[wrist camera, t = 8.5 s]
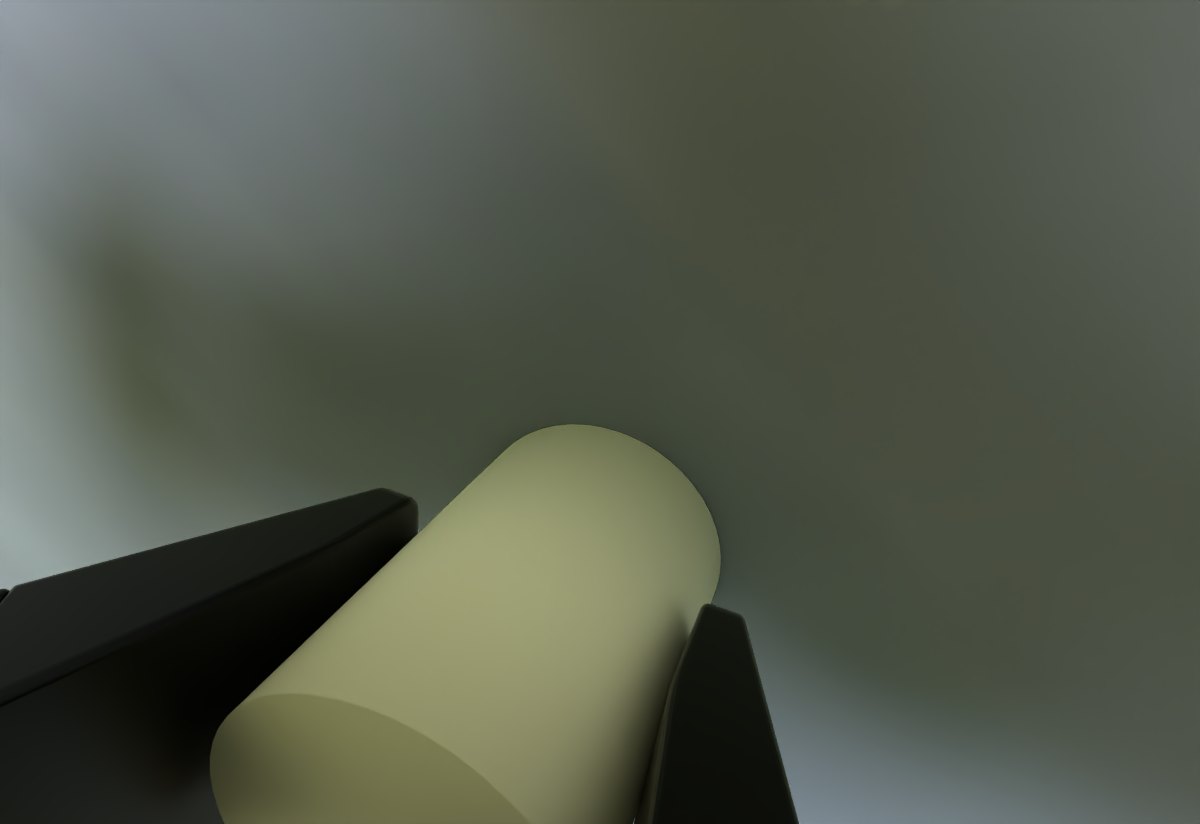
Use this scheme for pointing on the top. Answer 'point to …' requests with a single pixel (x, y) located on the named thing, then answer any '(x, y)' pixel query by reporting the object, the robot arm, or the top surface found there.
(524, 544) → the block
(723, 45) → the top surface
